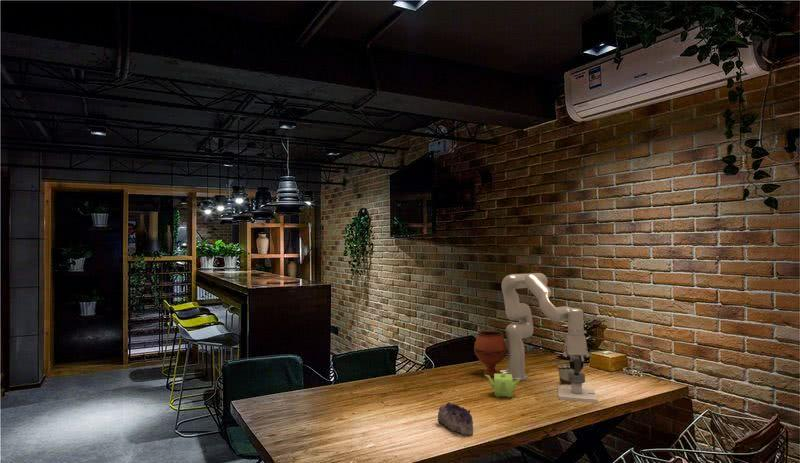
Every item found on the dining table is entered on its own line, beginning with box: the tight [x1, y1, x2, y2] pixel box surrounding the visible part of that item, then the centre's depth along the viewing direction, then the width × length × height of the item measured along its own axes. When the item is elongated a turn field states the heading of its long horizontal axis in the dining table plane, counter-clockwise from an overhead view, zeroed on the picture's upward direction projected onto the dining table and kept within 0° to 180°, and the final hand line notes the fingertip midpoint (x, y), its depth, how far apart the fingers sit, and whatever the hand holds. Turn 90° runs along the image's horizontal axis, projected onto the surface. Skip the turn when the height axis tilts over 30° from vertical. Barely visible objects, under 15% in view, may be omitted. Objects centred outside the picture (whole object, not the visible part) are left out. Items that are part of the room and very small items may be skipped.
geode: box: [437, 402, 474, 437], centre depth 195 cm, size 20×12×10 cm, turn 28°
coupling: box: [568, 356, 586, 384], centre depth 236 cm, size 9×8×12 cm
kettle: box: [484, 373, 521, 399], centre depth 236 cm, size 15×14×11 cm
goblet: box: [473, 330, 508, 377], centre depth 275 cm, size 19×19×25 cm
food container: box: [556, 363, 574, 386], centre depth 256 cm, size 12×6×10 cm, turn 84°
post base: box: [557, 383, 599, 404], centre depth 235 cm, size 18×18×7 cm
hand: (576, 368), depth 236 cm, fingers closed on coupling, 3 cm apart
